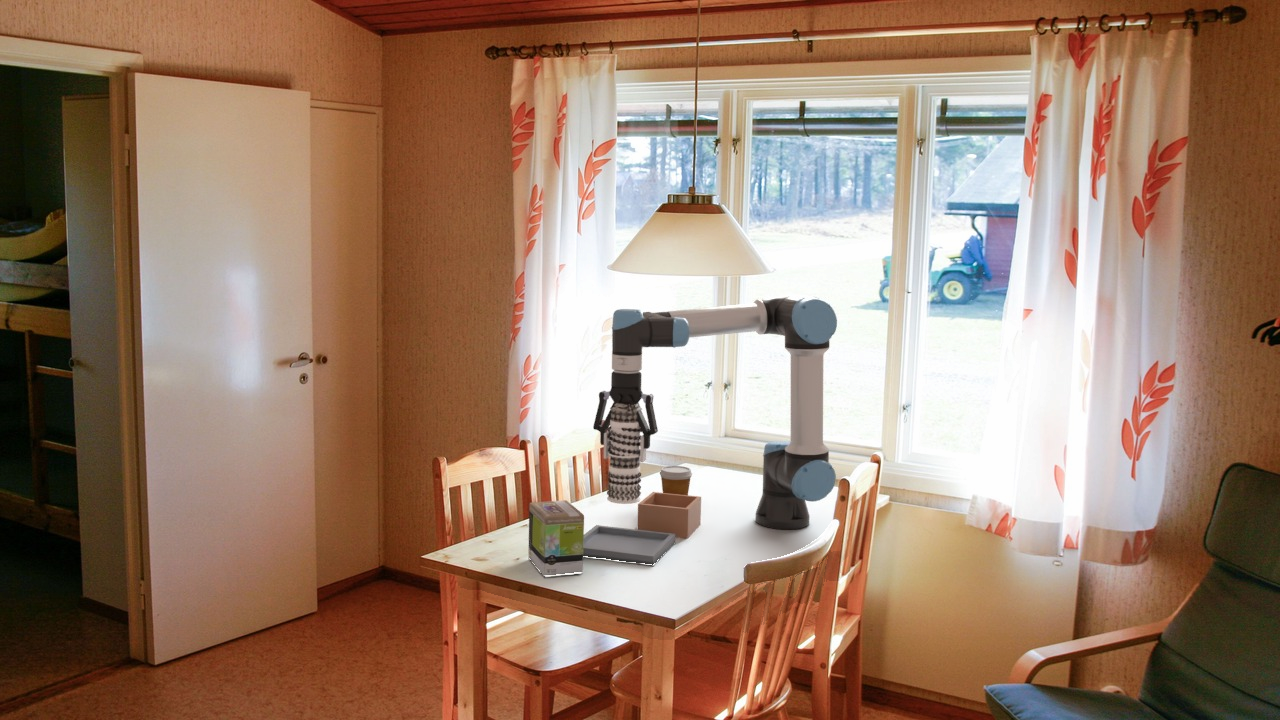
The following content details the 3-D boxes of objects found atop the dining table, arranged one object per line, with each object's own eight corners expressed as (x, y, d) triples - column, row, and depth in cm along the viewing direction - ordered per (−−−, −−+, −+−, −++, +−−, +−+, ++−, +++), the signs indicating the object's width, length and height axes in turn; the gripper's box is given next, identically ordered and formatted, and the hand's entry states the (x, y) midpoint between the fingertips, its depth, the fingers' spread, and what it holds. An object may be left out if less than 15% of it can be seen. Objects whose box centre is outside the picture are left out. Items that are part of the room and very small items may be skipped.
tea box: (584, 575, 246) (585, 514, 244) (543, 579, 242) (543, 517, 240) (566, 556, 260) (567, 498, 258) (527, 559, 256) (527, 501, 254)
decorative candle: (647, 497, 267) (650, 401, 264) (633, 506, 258) (636, 406, 255) (614, 493, 270) (616, 398, 267) (600, 501, 261) (602, 403, 258)
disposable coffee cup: (692, 505, 309) (693, 466, 308) (690, 514, 300) (691, 473, 298) (660, 504, 310) (661, 464, 309) (657, 512, 301) (658, 472, 299)
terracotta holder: (700, 524, 289) (701, 496, 288) (687, 538, 276) (688, 509, 275) (652, 519, 293) (653, 491, 292) (637, 533, 280) (637, 504, 279)
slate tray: (675, 543, 272) (675, 533, 272) (653, 566, 253) (653, 556, 253) (596, 534, 278) (596, 525, 278) (568, 555, 260) (569, 546, 259)
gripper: (580, 370, 260) (579, 458, 262) (664, 375, 253) (661, 466, 256) (591, 366, 267) (589, 452, 269) (672, 372, 260) (670, 460, 263)
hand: (624, 459), depth 263 cm, fingers closed on decorative candle, 9 cm apart
